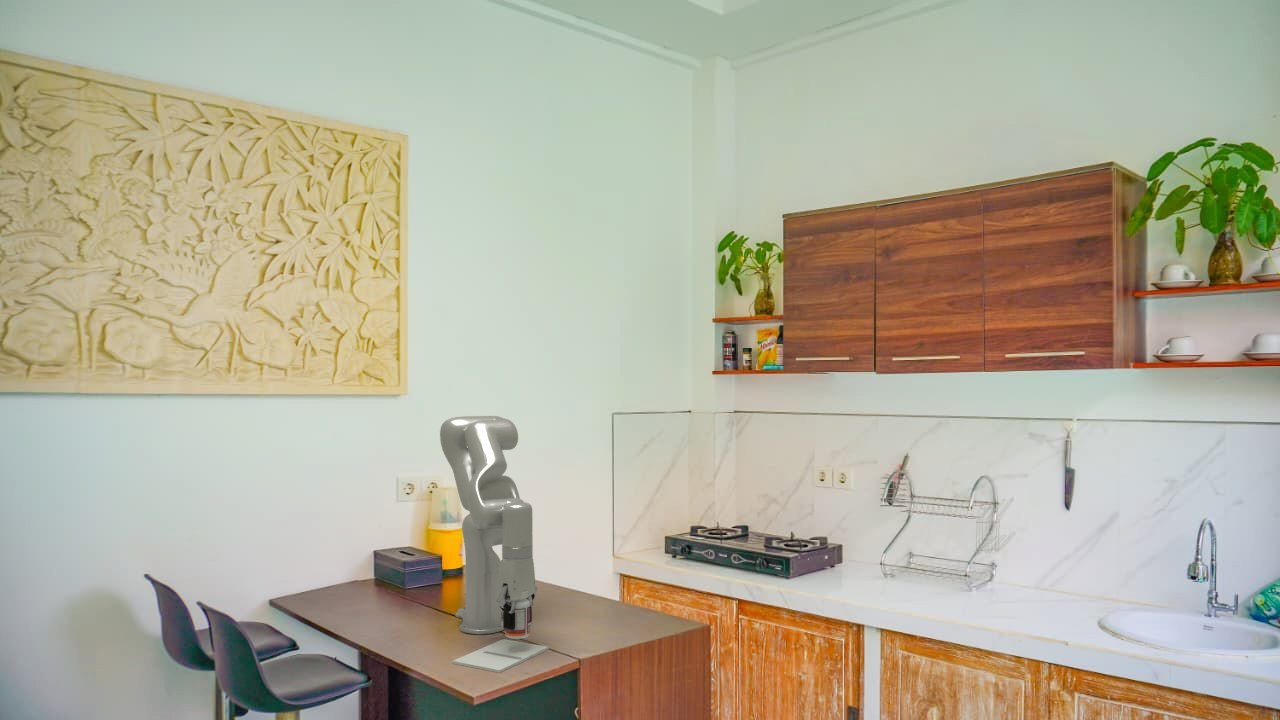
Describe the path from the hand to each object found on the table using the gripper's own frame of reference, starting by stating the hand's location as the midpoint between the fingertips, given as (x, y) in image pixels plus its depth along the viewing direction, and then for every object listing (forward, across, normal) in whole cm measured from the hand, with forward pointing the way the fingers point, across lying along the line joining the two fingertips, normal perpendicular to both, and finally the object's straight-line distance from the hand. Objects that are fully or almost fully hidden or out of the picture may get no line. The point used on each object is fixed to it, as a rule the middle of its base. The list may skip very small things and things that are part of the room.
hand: (517, 624), depth 226 cm
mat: (+7, +5, -1) cm, 8 cm away
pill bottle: (+3, 0, 0) cm, 3 cm away
